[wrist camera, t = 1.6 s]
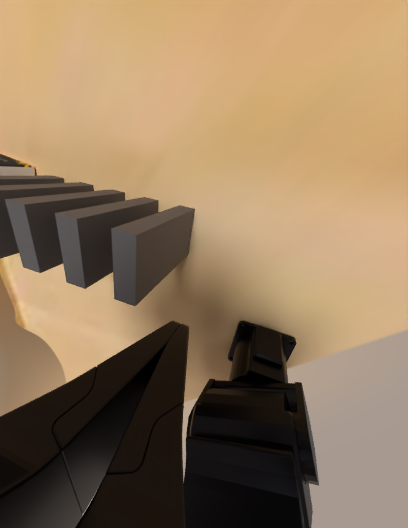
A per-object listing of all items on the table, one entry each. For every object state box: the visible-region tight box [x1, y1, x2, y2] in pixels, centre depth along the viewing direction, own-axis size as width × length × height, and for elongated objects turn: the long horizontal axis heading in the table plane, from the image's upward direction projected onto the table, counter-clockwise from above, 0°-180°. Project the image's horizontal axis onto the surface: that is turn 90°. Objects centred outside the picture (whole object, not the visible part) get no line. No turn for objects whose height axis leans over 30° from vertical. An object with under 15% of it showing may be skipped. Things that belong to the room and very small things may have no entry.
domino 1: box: [0, 176, 64, 185], centre depth 20 cm, size 5×2×10 cm, turn 170°
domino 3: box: [5, 190, 125, 273], centre depth 18 cm, size 5×2×10 cm, turn 170°
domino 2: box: [0, 182, 94, 258], centre depth 19 cm, size 5×2×10 cm, turn 170°
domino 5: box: [111, 206, 195, 306], centre depth 17 cm, size 5×2×10 cm, turn 170°
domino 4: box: [55, 197, 158, 289], centre depth 17 cm, size 5×2×10 cm, turn 170°
